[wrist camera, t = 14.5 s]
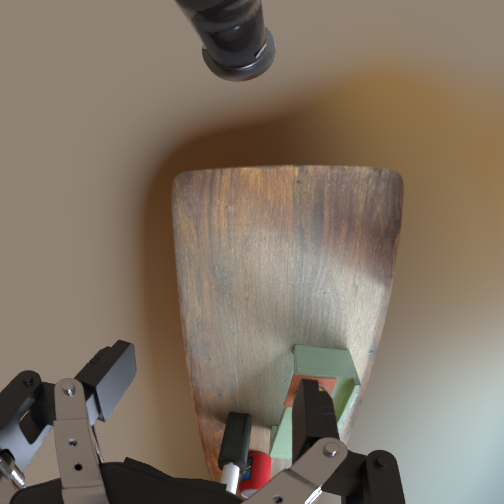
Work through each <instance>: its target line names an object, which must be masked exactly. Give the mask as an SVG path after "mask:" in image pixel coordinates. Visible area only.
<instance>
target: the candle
mask: <svg viewBox="0 0 504 504" xmlns="http://www.w3.org/2000/svg"><path fill="white" fill-rule="evenodd" d="M251 426H252V415H250V414H248V413H246V414H243V413H235V412H230V413H229V414H228V418H227V423H226V427H225V432H224V436H223V440H222V445H221V449H220V453H219V458H218V467H219V469H221V470H222V476H221V481H220V483H223V484H227V488H226V490H227V491H230V492H232V493H234V494H235V493H236V487H237V480H238V474H239V473H242V472H244V471H245V470H246V463H247V455H248V448H249V441H250V434H251Z"/></svg>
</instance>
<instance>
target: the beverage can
mask: <svg viewBox="0 0 504 504" xmlns="http://www.w3.org/2000/svg"><path fill="white" fill-rule="evenodd" d="M270 471H271V458H270V457H269V456H268V455H266V454H264V453H261V452H253V453H249V454H248V455H247V463H246V470H245V471H244V472H242V473H241V478H240V484H239V490H240V492H241V495H242V496H243V497H244V498H248V497H250V496H251V495H252V494H254V493H255V492H256V491H257V490H259V489H260V488H261V487H262V486H264V485H265V484H266V483H267V482H268V481H270Z"/></svg>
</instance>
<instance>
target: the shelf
mask: <svg viewBox="0 0 504 504" xmlns="http://www.w3.org/2000/svg"><path fill="white" fill-rule="evenodd" d="M293 355H294V374H293V377H292V380H291V384H290V387H289V390H288V394H287V397H286V400H285V403H284V406H285V407H284V410H283V413H282V417H281V420H280V423H279V426H272V428H271V435H270V449H269V457H270V458H280V459H292V406H293V394H294V392H295V390H296V389H297V388H298V386H299V383H300V380H301V379H302V378H305V379H315V380H318V384H320V385H322V386H324V387H325V388H326V390H327V392H328V393H329V395H330V396H331V397H332V399H333V404H334V410H335V415H336V421H337V427H338V431H339V429H340V428H341V426H342V424H343V422H344V420H345V418H346V416H347V414H348V412H349V410H350V408H351V406H352V404H353V402H354V400H355V398H356V395H357V393H358V391H359V389H360V387H361V384H360V381H359V378H358V375H357V372H356V369H355V366H354V363H353V360H352V357H351V354H350V351H349V350H339V349H329V348H320V347H312V346H304V345H297V344H296V345H295V348H294V352H293Z"/></svg>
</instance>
